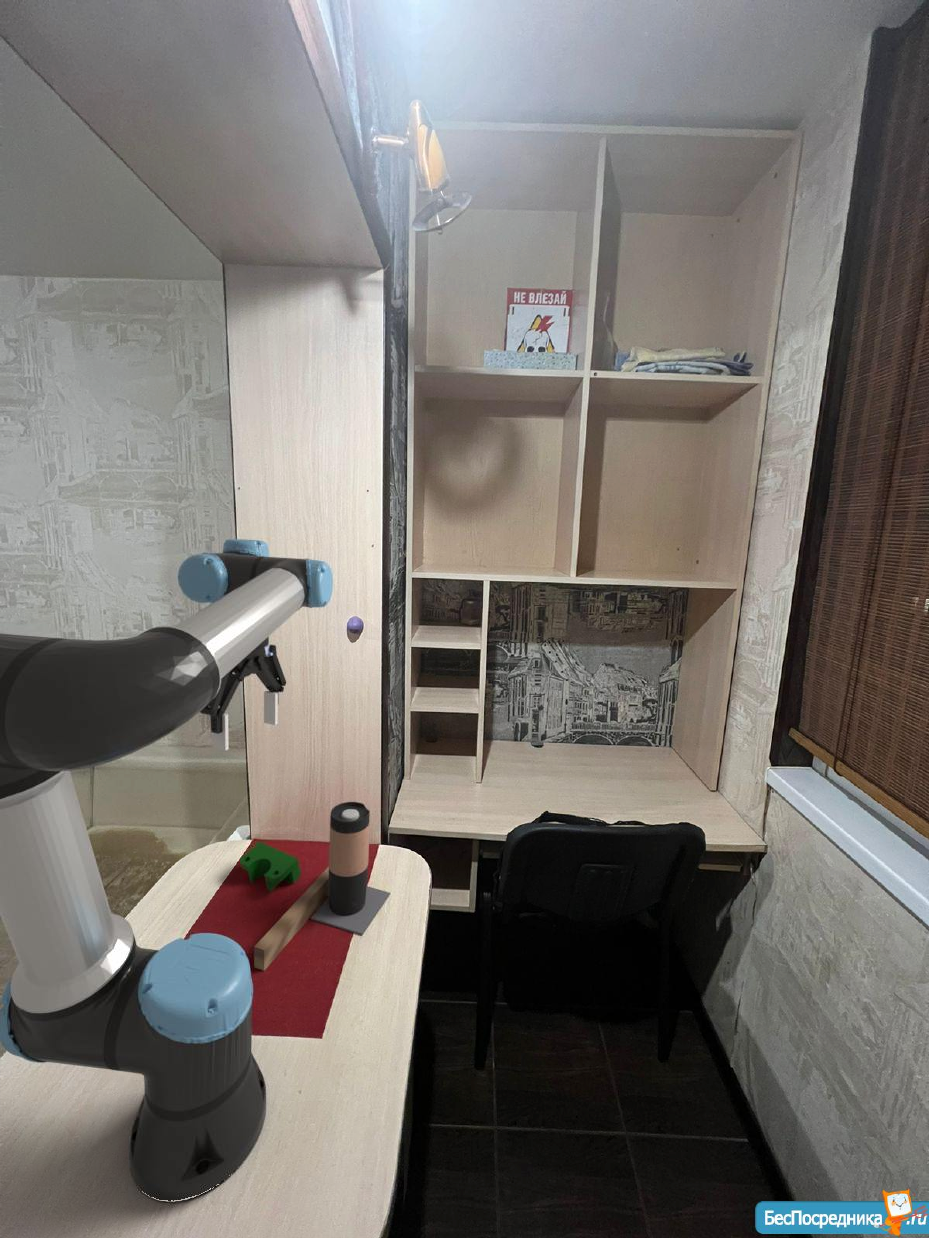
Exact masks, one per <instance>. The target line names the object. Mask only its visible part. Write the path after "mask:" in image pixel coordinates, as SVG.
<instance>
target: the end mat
mask: <svg viewBox="0 0 929 1238" xmlns="http://www.w3.org/2000/svg"><path fill="white" fill-rule="evenodd" d="M389 895H391V892H389V891H385V890H382V889H379V888H375V887H372V886H368V885H367V889H366V901H365V905H364V907H363V909H362V910H361V911H359V912H358V913H356V914H353V915H349V916H341V915H337V914H335V913H333V912H332V911H331V909H330V906H329V896H328V897H327V898H326V899H325V900H324V901H323V903H322V904H321V905H320V906H319V907H318V908H317V910H316V911H315V912H314V913H313V914H312V915H311V917H310V919H311V920H312V921H315V920H316V922H318V923H322V924H324V925H328V926H330V927H331V926H332V927H335V928H337V927H338V929H341V930H343V931H347V932H350V933H353V934H356V935H358V936H359V935H360V936H363V935H364V934H365V932H366V931H367V929H368V928H369V926H370V925H371V923H372V922H373V921H374V919H375V918H376V916H377V915H378V913H379V911H380V910H381V908H383V906H384V904H385V903H386V901H387V900H388V898H389V897H390V896H389Z"/></svg>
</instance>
